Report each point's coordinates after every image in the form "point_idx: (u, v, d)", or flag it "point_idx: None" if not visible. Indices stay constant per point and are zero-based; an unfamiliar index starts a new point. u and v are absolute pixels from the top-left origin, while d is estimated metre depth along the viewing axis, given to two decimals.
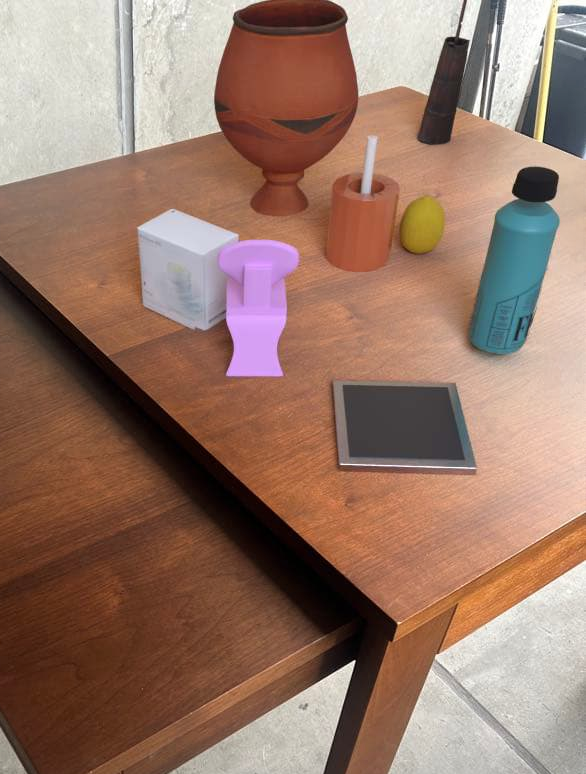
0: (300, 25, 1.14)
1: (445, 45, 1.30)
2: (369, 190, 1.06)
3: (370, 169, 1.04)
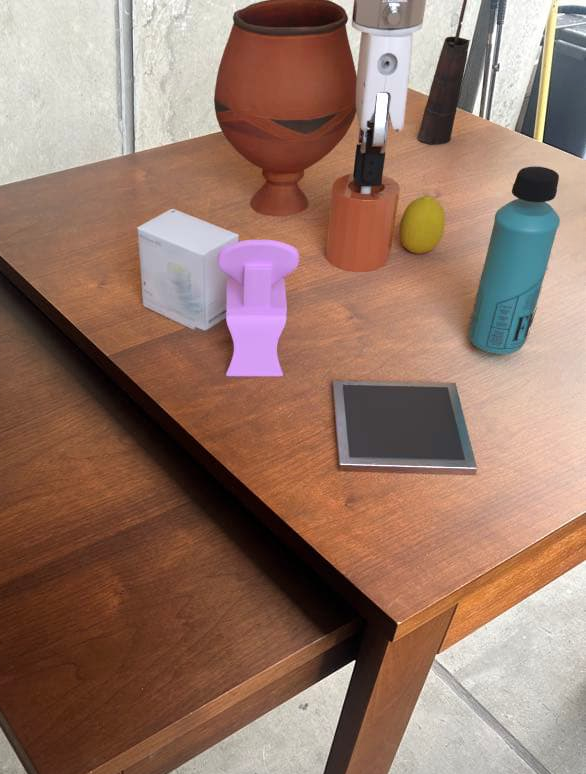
0: (300, 25, 1.14)
1: (445, 45, 1.30)
2: (369, 190, 1.06)
3: None
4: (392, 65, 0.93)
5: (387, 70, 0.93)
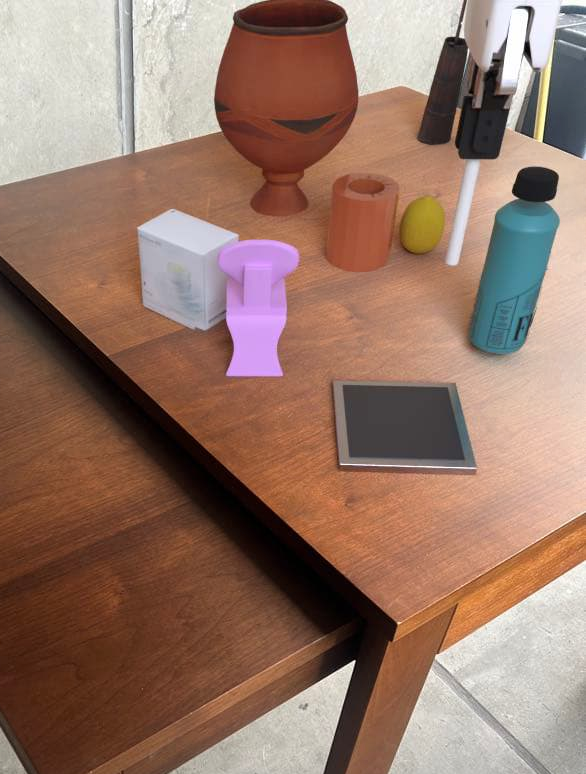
0: (300, 25, 1.14)
1: (445, 45, 1.30)
2: (478, 165, 0.72)
3: None
4: None
5: None
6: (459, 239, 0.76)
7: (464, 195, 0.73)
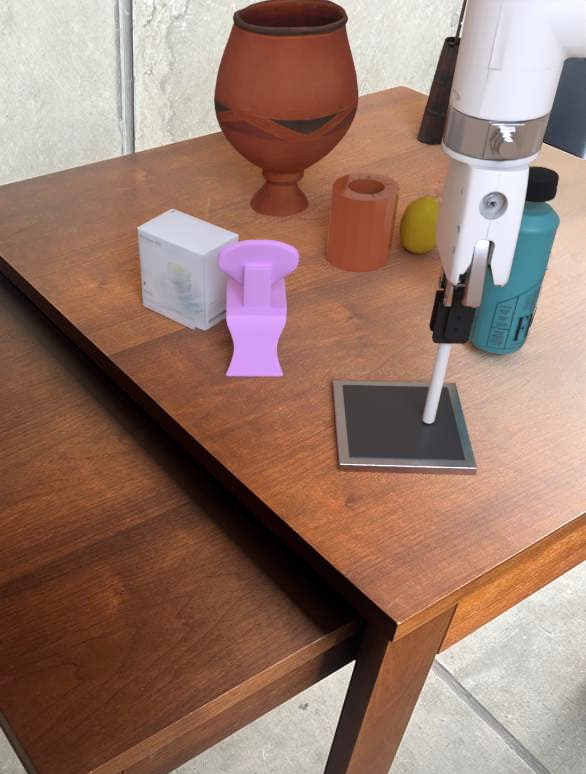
0: (300, 25, 1.14)
1: (445, 45, 1.30)
2: (450, 346, 0.81)
3: None
4: (498, 205, 0.68)
5: (491, 211, 0.68)
6: (434, 403, 0.85)
7: (438, 369, 0.82)
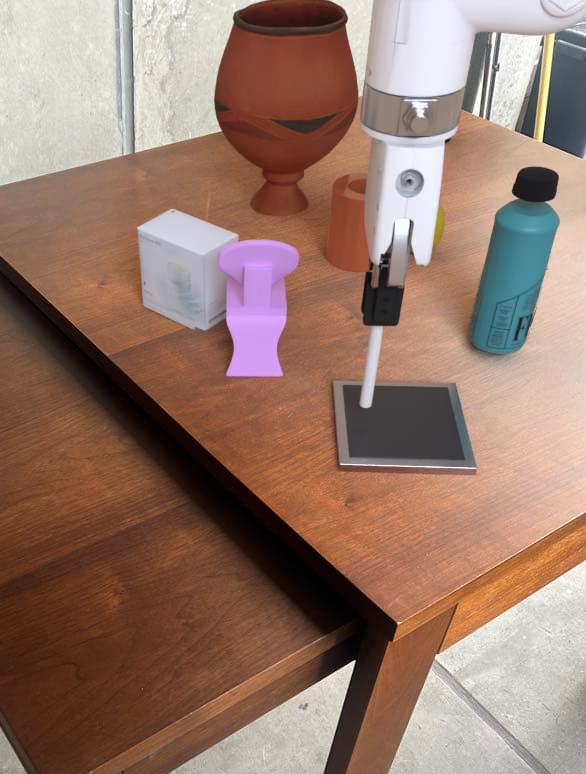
0: (300, 25, 1.14)
1: None
2: (381, 329, 0.80)
3: None
4: (416, 183, 0.67)
5: (409, 189, 0.67)
6: (370, 387, 0.84)
7: (371, 352, 0.82)
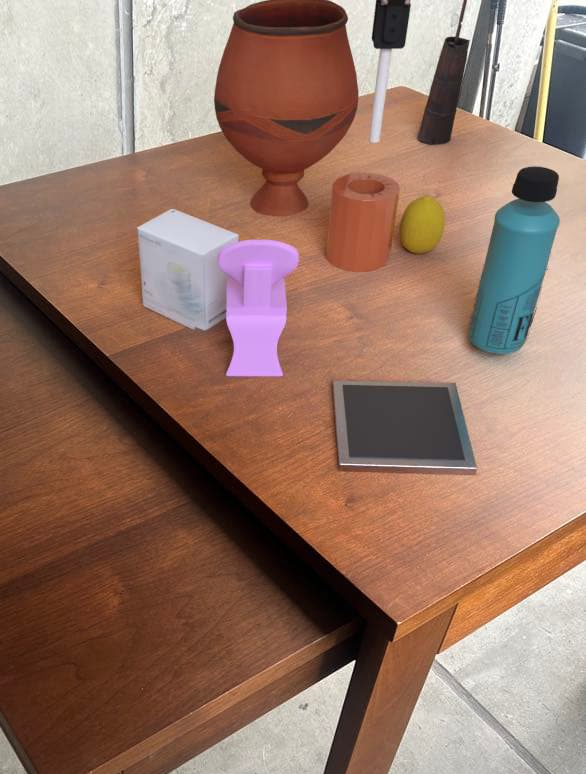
0: (300, 25, 1.14)
1: (445, 45, 1.30)
2: (389, 55, 0.90)
3: None
4: None
5: None
6: (378, 119, 0.95)
7: (380, 81, 0.92)
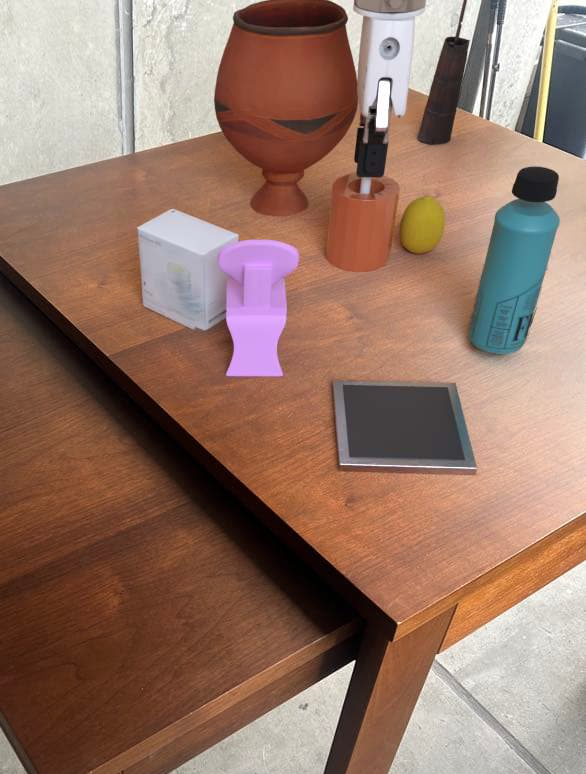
0: (300, 25, 1.14)
1: (445, 45, 1.30)
2: (368, 190, 1.06)
3: None
4: (394, 50, 0.92)
5: (389, 55, 0.92)
6: None
7: None
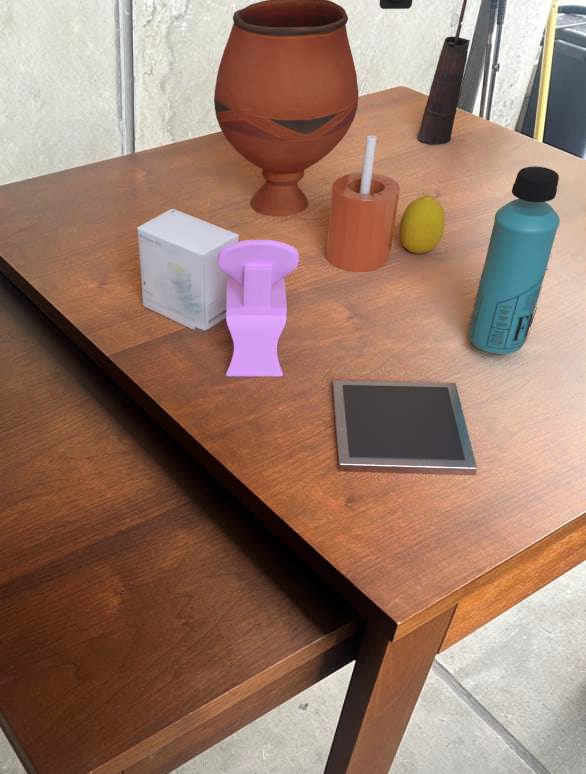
0: (300, 25, 1.14)
1: (445, 45, 1.30)
2: (368, 190, 1.06)
3: (369, 169, 1.04)
4: None
5: None
6: None
7: None
